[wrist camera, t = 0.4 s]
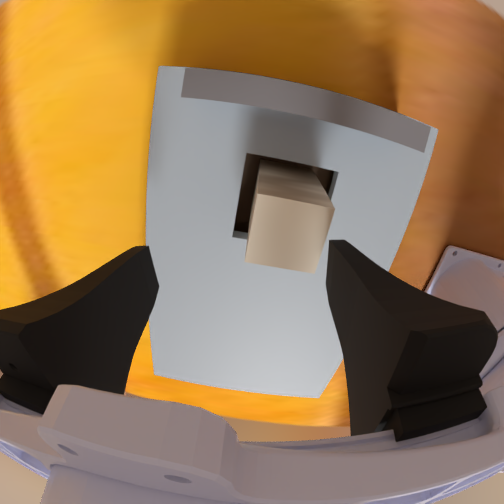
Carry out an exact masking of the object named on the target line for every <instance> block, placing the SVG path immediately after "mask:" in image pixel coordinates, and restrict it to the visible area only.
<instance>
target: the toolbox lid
mask: <svg viewBox="0 0 504 504" xmlns="http://www.w3.org/2000/svg"><path fill="white" fill-rule="evenodd" d="M437 133H438V129H436V128H434V127H431V126H429V125H427V124H424V123H422V122H420V121H417V120H415V119H412V118H410V117H407V116H405V115H402V114H400V113H397V112H395V111H392V110H389V109H386V108H384V107H381V106H378V105H375V104H372V103H369V102H366V101H363V100H360V99H357V98H353V97H350V96H347V95H343V94H340V93H336V92H333V91H329V90H325V89H321V88H317V87H313V86H309V85H305V84H301V83H296V82H291V81H287V80H282V79H277V78H271V77H266V76H260V75H254V74H247V73H240V72H232V71H224V70H215V69H204V68H192V67H174V66H159V69H158V75H157V82H156V90H155V97H154V105H153V114H152V123H151V134H150V146H149V159H148V176H147V200H146V246H149V248H150V253H151V257H152V260H153V264H154V268H155V272H156V276H157V279H158V283H159V290H158V294H157V298H156V301H155V305H154V307H153V310H152V312H151V314H150V317H149V326H150V338H151V349H152V359H153V367H154V375H158V376H162V377H167V378H171V379H176V380H181V381H186V382H191V383H196V384H201V385H207V386H213V387H219V388H225V389H232V390H239V391H246V392H254V393H263V394H272V395H283V396H295V397H310V398H319V397H320V395H321V394H322V392H323V391H324V389H325V388H326V386H327V385H328V383H329V381H330V380H331V378H332V376H333V375H334V373H335V372H336V370H337V368H338V367H339V365H340V363H341V362H342V360H343V353H342V349H341V345H340V341H339V338H338V334H337V331H336V327H335V324H334V321H333V317H332V314H331V310H330V307H329V302H328V296H327V290H326V273H327V261H328V248H329V240H342V239H344V240H346V241H347V242H349V243H350V244H351V245H353V246H354V247H355V248H357V249H358V250H359V251H360V252H362V253H363V254H364V255H366V256H367V257H368V258H369V259H371V260H372V261H373V262H375V263H376V264H378V265H379V266H380V267H382V268H383V269H385V270H386V271H389V269H390V266H391V264H392V262H393V259H394V257H395V255H396V253H397V250H398V248H399V245H400V243H401V241H402V238H403V236H404V233H405V231H406V228H407V225H408V223H409V220H410V218H411V215H412V212H413V210H414V207H415V204H416V201H417V198H418V196H419V193H420V190H421V187H422V184H423V181H424V178H425V175H426V171H427V168H428V165H429V162H430V158H431V155H432V151H433V148H434V144H435V141H436V137H437ZM247 153H250V154H256V155H262V156H267V157H272V158H278V159H283V160H288V161H292V162H297V163H302V164H307V165H311V166H315V167H320V168H324V169H328V170H333V171H334V175H333V179H332V182H331V186H330V190H329V193H328V197H329V199H330V200H331V202H332V204H333V206H334V208H335V211H334V215H333V218H332V221H331V225H330V228H329V231H328V234H327V237H326V241H325V244H324V247H323V250H322V253H321V256H320V259H319V262H318V265H317V268H316V271H315V274H313V273H307V272H301V271H295V270H289V269H283V268H277V267H271V266H265V265H259V264H253V263H247V262H244V261H245V253H246V245H247V237H248V233H245V232H240V231H234V225H235V219H236V213H237V207H238V201H239V195H240V189H241V183H242V177H243V172H244V166H245V160H246V154H247Z"/></svg>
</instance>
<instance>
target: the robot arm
mask: <svg viewBox="0 0 504 504" xmlns="http://www.w3.org/2000/svg"><path fill="white" fill-rule="evenodd" d="M454 251H455V252H454ZM453 252H454V253H453ZM158 290H159V283H158V279H157V276H156V272H155V268H154V264H153V260H152V257H151V253H150V248H149V246H135V247H133V248H131V249H129V250H127V251H125V252H124V253H122V254H120V255H119V256H117V257H115V258H114V259H112V260H111V261H109V262H108V263H106V264H104V265H103V266H101V267H100V268H98V269H96V270H95V271H93V272H91V273H90V274H88V275H87V276H85V277H83V278H82V279H80V280H78V281H76V282H74V283H73V284H71V285H69V286H67V287H65V288H63V289H61V290H59V291H56V292H54V293H51V294H49V295H47V296H44V297H42V298H40V299H37V300H34V301H31V302H28V303H25V304H22V305H18V306H15V307H11V308H6V309H2V310H0V370H1V371H2V373H4V374H3V375H2V377H1V378H0V451H1V452H2V453H4V454H5V455H7V456H8V457H10V458H12V459H13V460H15V461H16V462H18V463H20V464H21V465H23V466H25V467H26V468H28V469H30V470H31V471H33V472H35V473H36V474H38V475H40V476H42V477H44V478H46V479H47V480H48V481H47V484H46V487H45V490H44V493H43V496H42V499H41V502H40V504H431V503H434V502H437V501H439V500H442V499H444V498H446V497H449V496H451V495H454V494H456V493H458V492H461V491H463V490H465V489H467V488H469V487H471V486H474V485H476V484H478V483H480V482H482V481H484V480H486V479H488V478H490V477H492V476H493V475H495V474H497V473H498V472H501V473H502V472H503V473H504V261H503V260H500V259H497V258H493V257H490V256H487V255H483V254H480V253H476V252H473V251H469V250H466V249H462V248H459V247H455V246H452V245H450V246H448V247H447V248H446V249H445V251H444V253H443V256H442V258H441V260H440V262H439V264H438V266H437V268H436V270H435V272H434V274H433V276H432V278H431V280H430V282H429V284H428V286H427V288H426V290H425V291H421V290H419V289H417V288H415V287H413V286H411V285H409V284H408V283H406V282H404V281H402V280H400V279H399V278H397V277H395V276H394V275H392V274H391V273H389V272H388V271H386V270H385V269H383V268H382V267H380V266H379V265H378V264H376V263H375V262H373V261H372V260H371V259H369V258H368V257H367V256H366V255H364V254H363V253H362V252H360V251H359V250H358V249H357V248H355V247H354V246H353V245H351V244H350V243H349V242H347V241H346V240H344V239H342V240H329V248H328V261H327V273H326V290H327V296H328V302H329V307H330V310H331V314H332V317H333V321H334V324H335V327H336V331H337V334H338V338H339V341H340V345H341V349H342V353H343V358H344V365H345V372H346V379H347V388H348V398H349V411H350V428H351V436H350V437H341V438H331V439H320V440H308V441H286V442H243V441H239V440H238V437H237V433H236V432H235V430H234V429H233V428H232V427H231V426H230V425H229V424H228V423H227V421H225V420H224V419H223V418H222V417H220V416H218V415H216V414H214V413H211V412H209V411H207V410H205V409H203V408H201V407H196V406H191V405H186V404H182V403H177V402H171V401H162V400H154V399H147V398H140V397H134V396H128V395H124V392H125V387H126V383H127V378H128V374H129V370H130V366H131V362H132V359H133V355H134V352H135V349H136V347H137V344H138V342H139V340H140V337H141V335H142V333H143V330H144V328H145V326H146V324H147V321H148V319H149V317H150V314H151V312H152V310H153V307H154V305H155V301H156V298H157V294H158Z"/></svg>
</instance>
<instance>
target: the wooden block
mask: <svg viewBox="0 0 504 504" xmlns="http://www.w3.org/2000/svg"><path fill="white" fill-rule="evenodd" d="M334 211H335V208H334V206H333V204H332V202H331V200H330V199H329V197H328V195H327V193H326V192H325V190H324V188H323V186H322V185H321V183H320V181H319V180H318V178H317V176H316V175H315V173H314V171H313V170H311V169H307V168H302V167H297V166H293V165H288V164H283V163H278V162H272V161H267V160H262V159H260V163H259V169H258V174H257V179H256V185H255V190H254V195H253V201H252V206H251V213H250V221H249V229H248V237H247V245H246V253H245V261H244V262H247V263H253V264H259V265H265V266H271V267H277V268H283V269H289V270H295V271H301V272H307V273H313V274H315V271H316V268H317V265H318V262H319V259H320V256H321V253H322V250H323V247H324V244H325V241H326V237H327V234H328V231H329V228H330V225H331V221H332V218H333V215H334Z"/></svg>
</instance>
